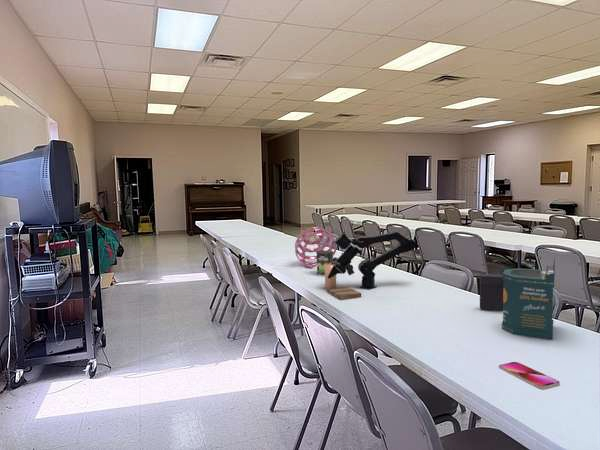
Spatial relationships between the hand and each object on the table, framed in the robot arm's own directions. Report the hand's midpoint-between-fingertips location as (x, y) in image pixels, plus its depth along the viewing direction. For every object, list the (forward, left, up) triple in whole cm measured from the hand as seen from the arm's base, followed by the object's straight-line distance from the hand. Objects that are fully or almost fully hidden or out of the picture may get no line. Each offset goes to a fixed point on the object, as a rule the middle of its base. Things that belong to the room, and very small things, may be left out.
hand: (327, 276), depth 218 cm
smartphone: (+24, +111, -7) cm, 114 cm away
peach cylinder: (-1, +1, -7) cm, 7 cm away
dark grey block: (-26, +76, -7) cm, 81 cm away
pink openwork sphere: (-35, -51, -7) cm, 62 cm away
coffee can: (-22, -27, -7) cm, 36 cm away
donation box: (-13, +95, -7) cm, 96 cm away
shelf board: (+2, +14, -7) cm, 15 cm away
